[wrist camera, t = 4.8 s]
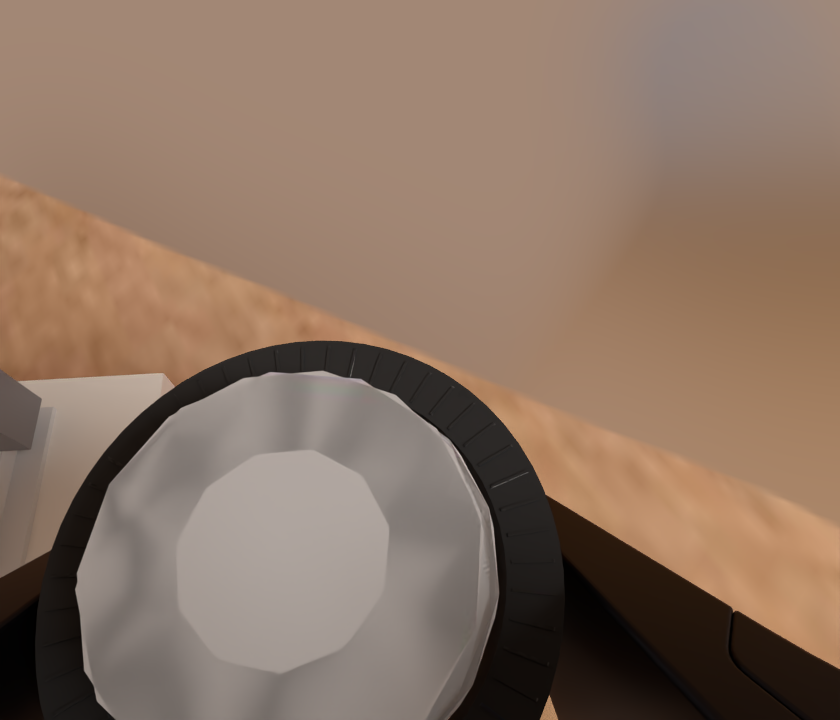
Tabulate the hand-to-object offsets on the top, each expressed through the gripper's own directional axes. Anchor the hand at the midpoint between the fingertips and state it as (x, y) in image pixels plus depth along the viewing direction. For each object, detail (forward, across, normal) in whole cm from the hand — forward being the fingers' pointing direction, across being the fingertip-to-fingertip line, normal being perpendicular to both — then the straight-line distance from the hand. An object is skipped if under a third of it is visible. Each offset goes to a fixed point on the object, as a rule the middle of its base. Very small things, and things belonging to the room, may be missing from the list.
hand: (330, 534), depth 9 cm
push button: (+4, 0, +6) cm, 7 cm away
